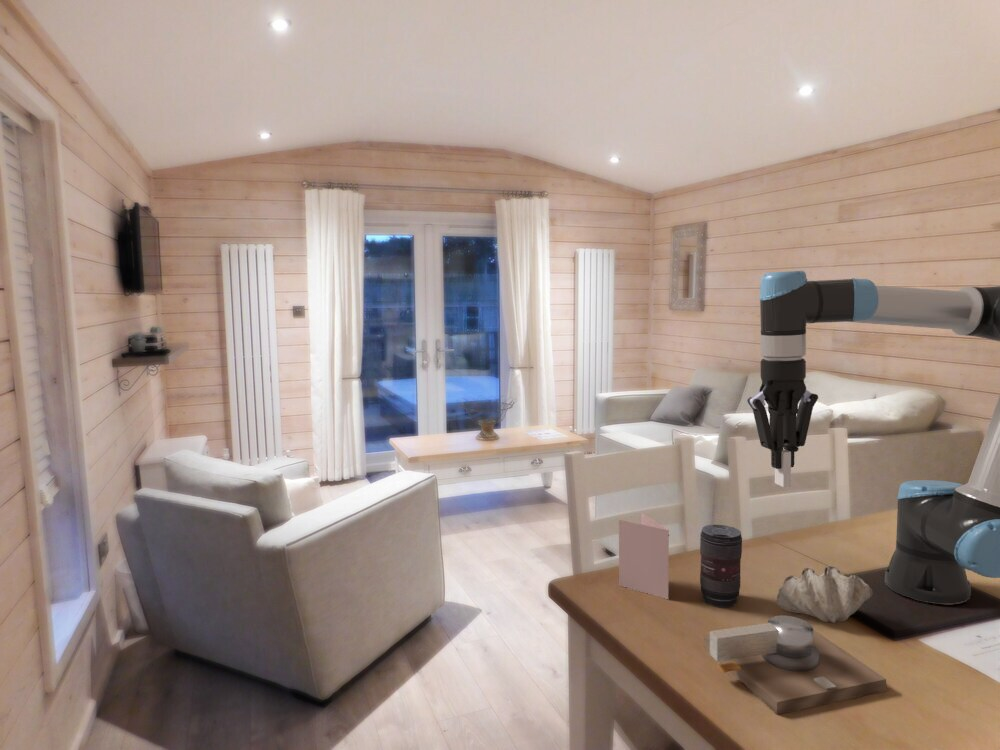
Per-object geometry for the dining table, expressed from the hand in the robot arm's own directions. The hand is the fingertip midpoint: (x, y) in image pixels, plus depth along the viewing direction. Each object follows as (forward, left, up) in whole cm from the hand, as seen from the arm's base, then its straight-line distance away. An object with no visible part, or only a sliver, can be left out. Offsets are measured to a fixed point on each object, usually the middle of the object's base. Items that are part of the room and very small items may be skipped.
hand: (782, 484), depth 122 cm
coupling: (+13, +12, -24) cm, 30 cm away
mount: (+9, +12, -28) cm, 32 cm away
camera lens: (+5, -13, -28) cm, 31 cm away
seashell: (-10, 0, -28) cm, 30 cm away
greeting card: (+18, -22, -28) cm, 39 cm away
